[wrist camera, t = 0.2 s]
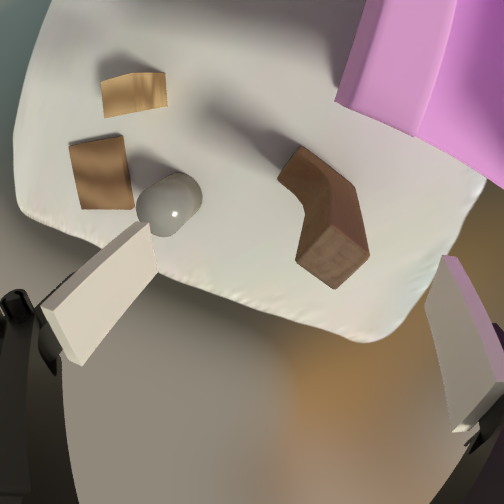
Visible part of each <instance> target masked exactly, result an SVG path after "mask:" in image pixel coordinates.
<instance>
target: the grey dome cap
mask: <svg viewBox="0 0 504 504" xmlns="http://www.w3.org/2000/svg"><path fill="white" fill-rule="evenodd" d="M201 204H202V192H201V189H200V186H199V185H198V183H197V182H196V181H195V180H194V179H193V178H192V177H191V176H189V175H187V174H184V173H173V174H171V175H169V176H167V177H166V178H164V179H162V180H161V181H159V182H157V183H156V184H154V185H153V186H151V187H149V188H148V189H146V190H145V191H143V192H142V193H141V194H140V195H139V197H138V199H137V203H136V212H137V216H138V219H139V221H140V222H148V223H149V226H150V231H151V233H152V234H153V235H156V236H159V237H168V236H171V235H173V234H175V233H176V232H177V231H178V230H179V229H180V228H181V227H182V226H183V225H184V224H185V223H186V222H187V221H188V220H189V219H190V218H191V217H192V216H193V215H194V214H195V213H196V212H197V211H198V210H199V208H200V207H201Z"/></svg>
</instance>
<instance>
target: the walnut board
mask: <svg viewBox="0 0 504 504" xmlns="http://www.w3.org/2000/svg"><path fill="white" fill-rule="evenodd" d="M69 152H70V158H71V163H72V168H73V173H74V178H75V183H76V187H77V192H78V196H79V200H80V204H81V208H82V209H124V210H131V209H133V208H134V207H135V204H134V199H133V194H132V189H131V183H130V177H129V171H128V165H127V159H126V153H125V146H124V139H123V136H119V137H113V138H107V139H101V140H96V141H91V142H85V143H81V144H76V145H72V146H69Z"/></svg>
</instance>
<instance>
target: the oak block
mask: <svg viewBox="0 0 504 504" xmlns="http://www.w3.org/2000/svg"><path fill="white" fill-rule="evenodd" d="M101 90H102V101H103V110H104V119H105V118H109V117H114V116H118V115H123V114H128V113H134V112H139V111H144V110H149V109H155V108H160V107H166V106H168V104H167V93H166V80H165V73H129V74H125V75H122V76H118V77H115V78H111V79H108V80H105V81H102V82H101Z"/></svg>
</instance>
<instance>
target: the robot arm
mask: <svg viewBox="0 0 504 504" xmlns="http://www.w3.org/2000/svg"><path fill="white" fill-rule="evenodd" d="M157 272H158V269H157V264H156V259H155V254H154V248H153V243H152V237H151V231H150V226H149V223H148V222H137V221H136V222H135V223H133V224H132V225H131V226H130V227H128V228H127V229H126V230H125V231H123V232H122V233H121V234H120V235H118V236H117V237H116V238H115V239H114V240H112V241H111V242H110V243H109V244H108V245H106V246H105V247H104V248H103V249H102V250H101V251H99V252H98V253H97V254H96V255H95V256H94V257H92V258H91V259H90V260H89V261H88V262H87V263H86V264H85V265H83V266H82V267H81V268H80V269H79V270H77V271H76V272H74V273H72V274H70V275H69V276H68V277H67V278H66V279H65V280H64V281H62V283H60V284H59V285H58V286H57V287H56V289H54V290H53V291H52V292H51V293H50V294H49V295H48V296H46V298H45V299H43V300H42V301H41V303H39V304H38V305H37V306H36V307H35V308H34V307H33V305H32V303H31V301H30V299H29V297H28V295H27V293H26V291H25V290H23V289H15V290H13V291H10V292H9V293H8V294H6V295H5V296H4V297H3V298H2V299H1V301H0V307H1V309H2V310H3V312H4V314H5V316H3V314H2V312H1V310H0V504H79V502H78V497H77V493H76V489H75V485H74V479H73V474H72V469H71V463H70V458H69V452H68V445H67V437H66V428H65V418H64V407H63V391H62V362H61V357H60V356H59V354H60V352H61V351H62V350H63V351H64V353H65V354H66V356H67V358H68V359H69V360H70V361H72V362H74V363H76V364H78V365H81V366H83V364H84V363H85V362H86V360H87V359H88V358H89V356H90V355H91V354H92V352H93V351H94V350H95V349H96V347H97V346H98V345H99V343H100V342H101V341H102V340H103V338H104V337H105V336H106V335H107V333H108V332H109V331H110V329H111V328H112V327H113V326H114V324H115V323H116V322H117V321H118V319H119V318H120V317H121V316H122V314H123V313H124V312H125V311H126V310H127V308H128V307H129V306H130V305H131V303H132V302H133V301H134V300H135V299H136V297H137V296H138V295H139V294H140V293H141V291H142V290H143V289H144V288H145V287H146V285H147V284H148V283H149V282H150V281H151V279H152V278H153V277H154V276H155V275H156V273H157ZM424 308H425V311H426V314H427V318H428V321H429V325H430V328H431V332H432V336H433V339H434V343H435V347H436V351H437V356H438V360H439V364H440V369H441V373H442V378H443V383H444V388H445V394H446V399H447V405H448V410H449V418H450V424H451V432H460V431H469V430H470V429H471V428H472V427H473V426H474V425H475V424H476V423H477V422H478V421H479V426H480V430H479V431H478V432H477V433H476V434H475V435H474V436H473V437H471V438H470V439H469V440H468V441H467V442H466V443H465V445H464V446H467V445H468V444H469V443H470V445H469V446H468V448H467V450H466V452H465V453H464V455H463V456H462V458H461V460H460V461H459V463H458V465H457V466H456V467H455V469H454V471H453V472H452V474H451V475H450V476H449V478H448V479H447V481H446V482H445V484H444V485H443V486H442V488H441V489H440V491H439V492H438V493H437V495H436V496H435V497H434V498H433V500H432V501H431V502H430V504H504V332H503V330H502V329H501V328H500V327H499V326H498V325H497V324H496V323H491V321H490V319H489V317H488V315H487V313H486V310H485V308H484V306H483V304H482V302H481V301H480V298H479V296H478V294H477V293H476V291H475V289H474V287H473V285H472V283H471V281H470V279H469V278H468V276H467V274H466V272H465V270H464V269H463V267H462V265H461V264H460V262H459V260H458V259H457V257H453V256H446V255H442V257H441V260H440V263H439V266H438V269H437V272H436V275H435V278H434V281H433V284H432V287H431V289H430V292H429V295H428V297H427V300H426V302H425V305H424Z"/></svg>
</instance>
